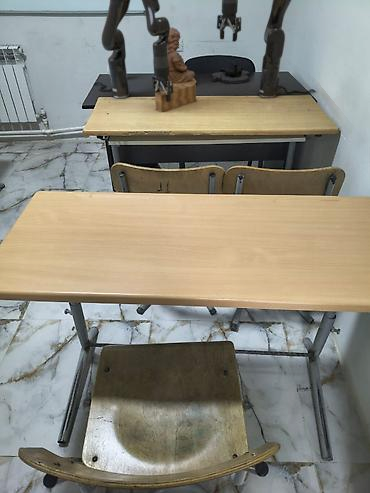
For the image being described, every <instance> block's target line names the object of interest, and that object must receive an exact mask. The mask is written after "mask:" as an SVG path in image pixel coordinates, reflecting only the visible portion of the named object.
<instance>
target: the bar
mask: <svg viewBox="0 0 370 493" xmlns="http://www.w3.org/2000/svg"><path fill="white" fill-rule="evenodd" d="M170 91H171V89H170ZM167 92H168V90H167ZM154 100H155V110H157V111H159V112H161V113H163V112H166V111H170V110H172V109H175V108H179V107H183V106H184V105H188V104H190V103H194V102H197V84H192V83H188V84H184V85H181V86H177V87H173V93H172V94H171V101H170V102H166V93H165V91H164V90H163V89H162V90H160V92H156V91H155V92H154Z"/></svg>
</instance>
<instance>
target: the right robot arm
mask: <svg viewBox="0 0 370 493" xmlns="http://www.w3.org/2000/svg"><path fill="white" fill-rule="evenodd" d="M291 2H292V0H272V3H271V10H270V13H269V17H268V20H267V23H266V26H265V29H264V34H263V41H264V43H265V52H264V55H263V57H262V62H261V63H262V65H261V75H260V85H259V93H258V95H259V97H261V98H267V99H269V98H276V97H278V94H279V91H281V89H282V90H284V91H285V94H292V93H298V94H309V93H310V92H313V93H316V90H315V89H313V88H311V89H309V90H306V91H303V90H296V89H295V90H294V89H293V90H291V91H288V90H287V88H286V87H285V86H283V85H282V84H281V83H280V77H279V74H280V68H281V61H282V57H283V52H284V48H285V43H286V34H285V31H284V30H283V29H282V28H283V24H284V18H285V16H286V15H285V14H286V13H287V11H288V8H289V6H290V4H291ZM238 4H239V0H221V14H217V16H216V18H217V20H216V30H219V40H225V29H226V27H229V28H230V29H231V31H232V40H231V41H232V42H237V40H238V33H239V32H241V31H242V17H241V16H238V17H237V13H238V9H239V8H238V7H239V6H238Z"/></svg>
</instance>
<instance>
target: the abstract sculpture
mask: <svg viewBox="0 0 370 493" xmlns="http://www.w3.org/2000/svg"><path fill="white" fill-rule="evenodd" d="M218 71H219V72H214V73H211V77H212V82H214V83H216V82H217V81H218V82H219V81H221V82H222V83H225V84H229V85H231V84H244V83H246V82H247V83H248V82H249V81H250V77H249V76H250V72H249V71H248V70H244V67H243V66H239V65H238V63H237V62H235V61H234V60H230V61H229V68H228V67H220V68H219V70H218Z"/></svg>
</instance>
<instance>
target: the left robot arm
mask: <svg viewBox="0 0 370 493" xmlns="http://www.w3.org/2000/svg"><path fill="white" fill-rule="evenodd" d="M141 2H142V5H143V6H142V7H143V8H144V13H145V20H146V22H145V23H146V29H147V31H148V34H149V35H150V36H152V37H157V40H155V41H154V42H153V43H152V60H153V61H152V64H153V75H154V76H151V79H152V80H151V81H152V83H151V84H152V90H154V91H155V93H156V92H160V91H161V89H162V91H163V90H164V91H165V93H166V102H170V101H171V94H172V93H173V88H174V87H173V81H169V80H168V76H169V59H168V49H167V44H168V39H169V33H170V27H171V24H170V22H169V19H168V18H167V17H165V16H159V17H156V14H157V13H158V12H159V11H160V9H161V5H160V1H159V0H141ZM108 4H109V5H108V10H107V15H106V19H105V23H104V25H103V29H102V34H101V45H102V48H103V49H104V50H105V51H107V52H112V53H111V54H110V56H109V57H108V58H107V64H108V66H109V71H110V75H109V76H110V83H111V88H108V89H107V88H106V84H105V83H103V82H100V81H96V82H94V83H93V85H94V86H96V85H98V84H99V85H101V86H100V87H99V91H102V92H112V97H113V98H114V99H125V98H128V97H130V90H129V89H130V88H129V82H128V81H129V79H128V74H127V66H126V65H127V64H126V58H127V50H126V41H125V36H124V33H123V32H122V30H121V29H119V25H120V24H121V22H122V21H123V19H124V18H125V17H126V15H127V13H128V12H129V8H130V5H131V0H109V3H108ZM167 87H168V88H167ZM104 88H106V89H104ZM170 89H171V91H170ZM167 90H168V92H167Z"/></svg>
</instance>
